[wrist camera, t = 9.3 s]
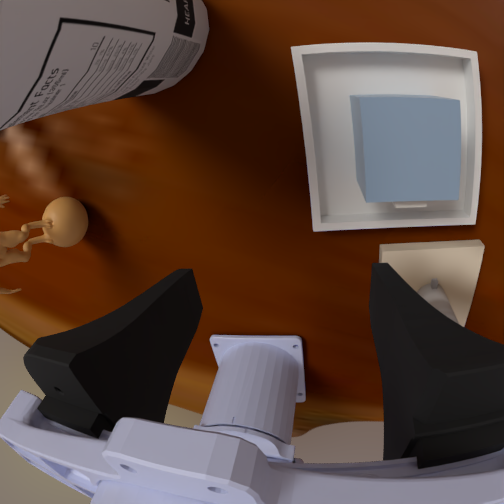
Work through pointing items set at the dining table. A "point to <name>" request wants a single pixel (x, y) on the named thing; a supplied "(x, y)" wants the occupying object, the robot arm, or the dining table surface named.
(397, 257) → the post stand
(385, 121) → the pale blue cube
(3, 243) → the figurine
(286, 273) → the dining table surface
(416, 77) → the tray
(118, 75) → the supplement can
